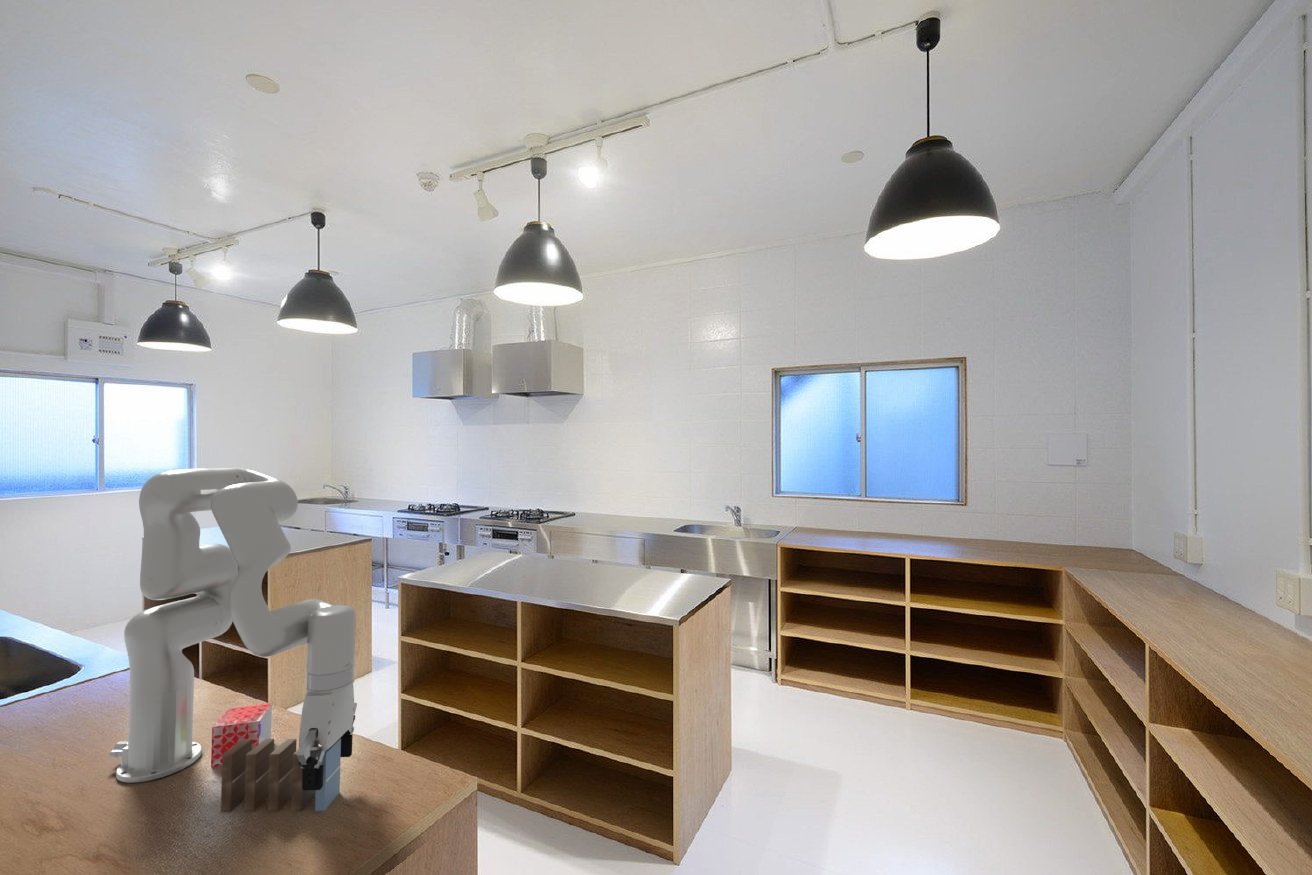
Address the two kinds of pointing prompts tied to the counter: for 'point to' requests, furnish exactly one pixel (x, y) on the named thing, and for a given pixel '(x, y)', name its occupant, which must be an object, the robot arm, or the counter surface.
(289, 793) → the domino
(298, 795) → the domino
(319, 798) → the domino
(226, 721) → the red patterned cube
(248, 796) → the domino
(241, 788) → the domino
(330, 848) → the counter surface
